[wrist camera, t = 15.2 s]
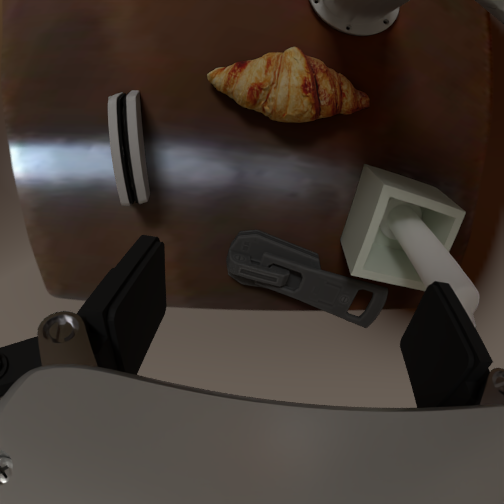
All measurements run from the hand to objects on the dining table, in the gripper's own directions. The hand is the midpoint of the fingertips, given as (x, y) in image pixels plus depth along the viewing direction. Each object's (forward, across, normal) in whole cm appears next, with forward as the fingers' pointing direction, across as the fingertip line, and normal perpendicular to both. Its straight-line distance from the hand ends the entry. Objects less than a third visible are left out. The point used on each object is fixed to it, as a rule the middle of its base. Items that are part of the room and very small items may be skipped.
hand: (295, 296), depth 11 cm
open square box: (+36, -17, +9) cm, 41 cm away
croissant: (+36, +1, -7) cm, 37 cm away
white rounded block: (+36, +22, +4) cm, 42 cm away
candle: (+35, -18, +9) cm, 40 cm away
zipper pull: (+36, -6, +21) cm, 42 cm away
